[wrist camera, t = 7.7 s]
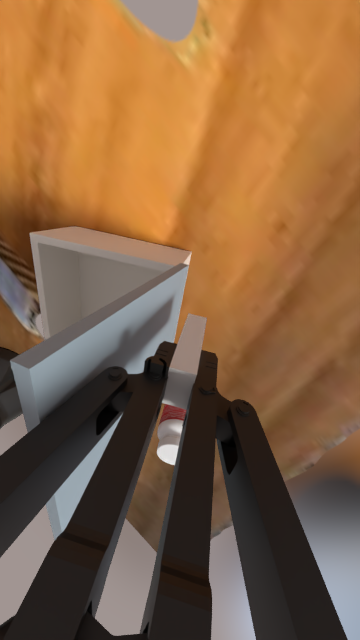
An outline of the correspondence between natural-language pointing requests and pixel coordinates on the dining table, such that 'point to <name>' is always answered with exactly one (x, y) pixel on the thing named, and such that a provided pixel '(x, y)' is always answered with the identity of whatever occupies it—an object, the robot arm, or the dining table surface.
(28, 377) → the lid
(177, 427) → the pill bottle
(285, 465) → the dining table surface
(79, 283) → the box
